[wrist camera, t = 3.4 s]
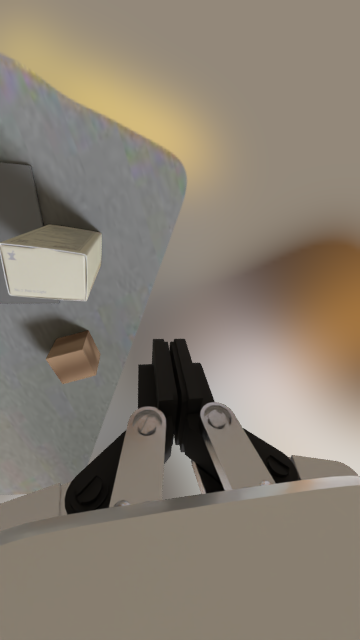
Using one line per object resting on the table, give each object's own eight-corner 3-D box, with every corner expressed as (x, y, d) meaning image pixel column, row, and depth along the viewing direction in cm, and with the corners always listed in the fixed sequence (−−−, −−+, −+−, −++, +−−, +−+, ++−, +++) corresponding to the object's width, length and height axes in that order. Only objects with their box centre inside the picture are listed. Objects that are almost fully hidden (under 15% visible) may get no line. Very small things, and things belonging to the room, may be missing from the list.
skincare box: (51, 258, 28) (4, 297, 18) (48, 221, 26) (-7, 241, 16) (103, 265, 30) (87, 304, 19) (104, 230, 28) (86, 254, 17)
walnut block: (56, 338, 34) (45, 359, 30) (88, 330, 34) (82, 349, 30) (70, 361, 37) (62, 384, 32) (100, 354, 37) (96, 375, 33)
